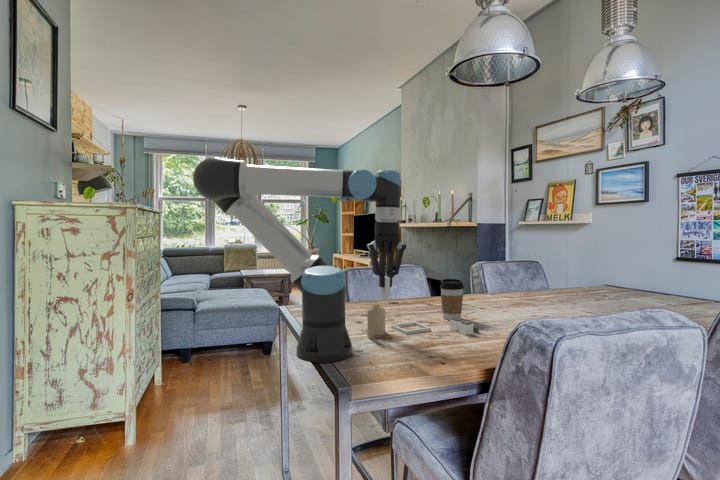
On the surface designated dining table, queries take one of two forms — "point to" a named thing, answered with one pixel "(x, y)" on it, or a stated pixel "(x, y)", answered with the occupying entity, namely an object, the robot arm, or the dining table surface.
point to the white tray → (423, 329)
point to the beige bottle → (375, 321)
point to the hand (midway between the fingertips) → (385, 297)
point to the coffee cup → (451, 298)
